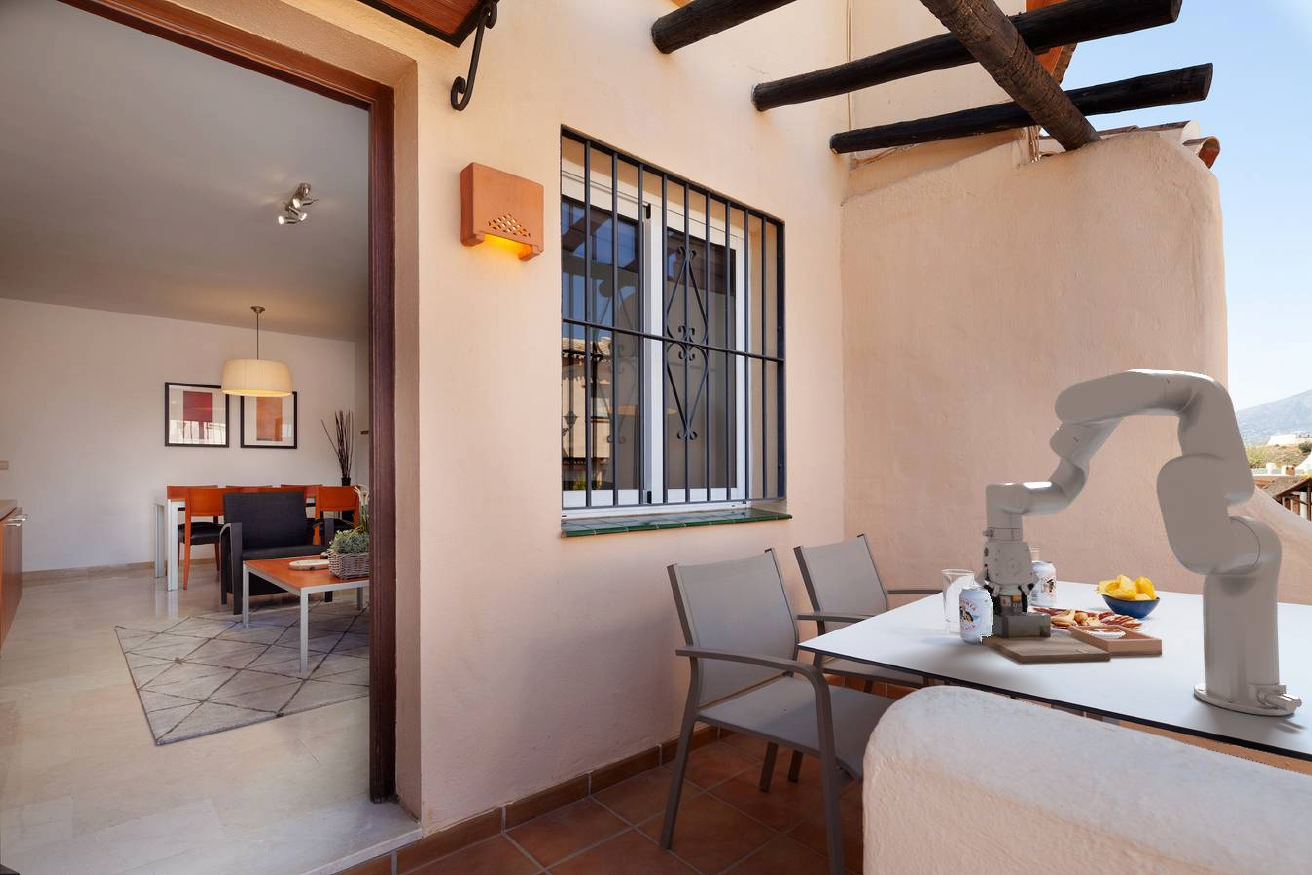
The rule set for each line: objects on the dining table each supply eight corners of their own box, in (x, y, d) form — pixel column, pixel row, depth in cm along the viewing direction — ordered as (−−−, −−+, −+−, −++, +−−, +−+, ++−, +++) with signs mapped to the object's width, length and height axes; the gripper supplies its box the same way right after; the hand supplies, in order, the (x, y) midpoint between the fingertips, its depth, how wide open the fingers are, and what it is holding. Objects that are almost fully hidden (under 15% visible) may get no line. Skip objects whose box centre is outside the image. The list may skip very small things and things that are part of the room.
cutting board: (1110, 660, 133) (1110, 652, 133) (1021, 663, 132) (1021, 655, 132) (1058, 639, 149) (1058, 631, 149) (978, 641, 147) (978, 634, 147)
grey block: (1042, 631, 149) (1042, 611, 149) (1056, 636, 145) (1055, 616, 145) (990, 632, 148) (989, 612, 148) (1001, 637, 144) (1001, 617, 144)
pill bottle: (1021, 626, 149) (1018, 582, 149) (993, 623, 152) (991, 580, 153) (1024, 621, 153) (1022, 579, 154) (997, 618, 157) (995, 577, 157)
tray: (1162, 653, 137) (1161, 639, 137) (1108, 655, 136) (1108, 641, 136) (1118, 638, 149) (1117, 624, 149) (1068, 639, 148) (1068, 626, 148)
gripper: (979, 537, 150) (982, 616, 149) (1050, 535, 151) (1054, 614, 150) (961, 534, 157) (964, 610, 156) (1029, 532, 158) (1033, 607, 157)
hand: (1008, 611), depth 153 cm, fingers closed on pill bottle, 5 cm apart
